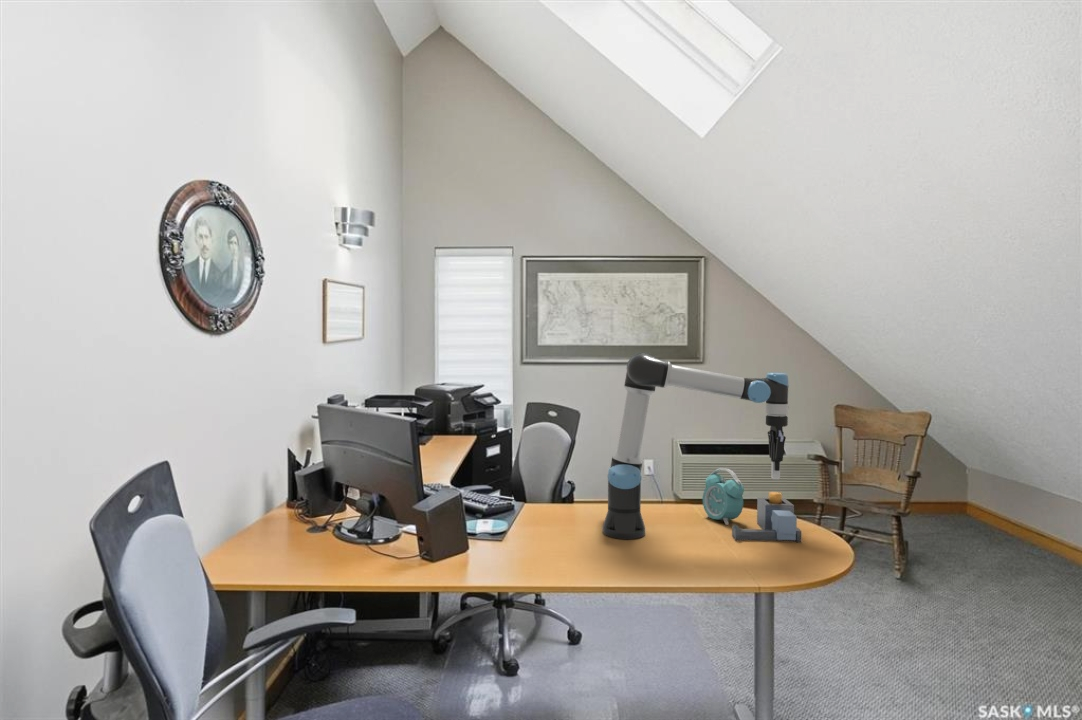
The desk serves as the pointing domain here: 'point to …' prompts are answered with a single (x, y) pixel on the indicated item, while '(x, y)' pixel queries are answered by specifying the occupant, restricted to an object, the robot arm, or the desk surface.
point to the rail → (759, 534)
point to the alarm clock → (723, 496)
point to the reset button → (775, 497)
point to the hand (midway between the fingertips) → (775, 478)
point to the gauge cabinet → (770, 511)
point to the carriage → (784, 524)
